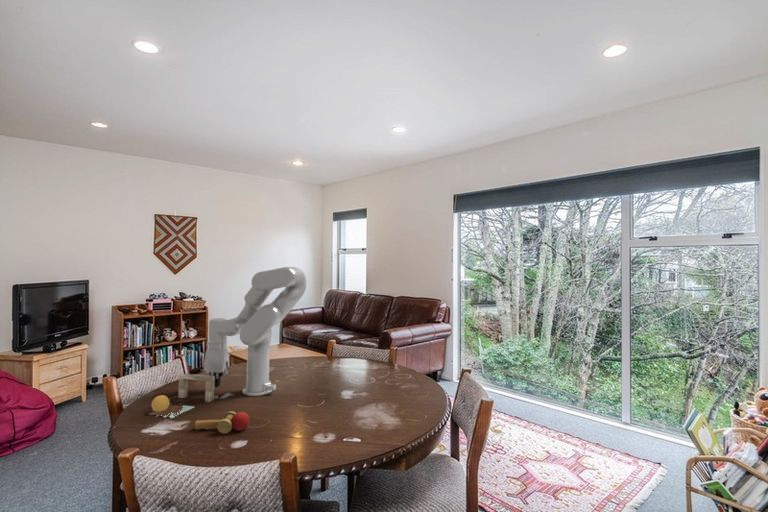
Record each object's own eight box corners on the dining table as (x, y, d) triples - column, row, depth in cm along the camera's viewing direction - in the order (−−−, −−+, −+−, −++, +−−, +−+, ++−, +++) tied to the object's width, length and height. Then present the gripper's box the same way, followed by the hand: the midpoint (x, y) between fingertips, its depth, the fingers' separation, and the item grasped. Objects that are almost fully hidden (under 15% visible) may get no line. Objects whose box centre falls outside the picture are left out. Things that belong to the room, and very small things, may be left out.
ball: (155, 410, 145) (166, 415, 149) (165, 395, 148) (175, 400, 152) (144, 406, 147) (155, 411, 151) (154, 391, 150) (165, 396, 155)
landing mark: (194, 407, 155) (194, 406, 155) (171, 418, 143) (171, 417, 143) (169, 404, 158) (169, 403, 158) (144, 414, 146) (144, 414, 146)
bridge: (183, 396, 167) (184, 373, 167) (213, 399, 164) (214, 376, 164) (178, 398, 164) (178, 375, 165) (209, 402, 161) (209, 378, 161)
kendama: (190, 439, 129) (245, 431, 130) (190, 419, 131) (244, 411, 131) (201, 433, 137) (253, 426, 137) (201, 414, 138) (252, 408, 139)
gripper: (197, 346, 175) (196, 387, 175) (226, 348, 172) (225, 390, 171) (208, 343, 183) (207, 383, 182) (237, 345, 179) (235, 385, 179)
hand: (216, 386), depth 177 cm, fingers closed
